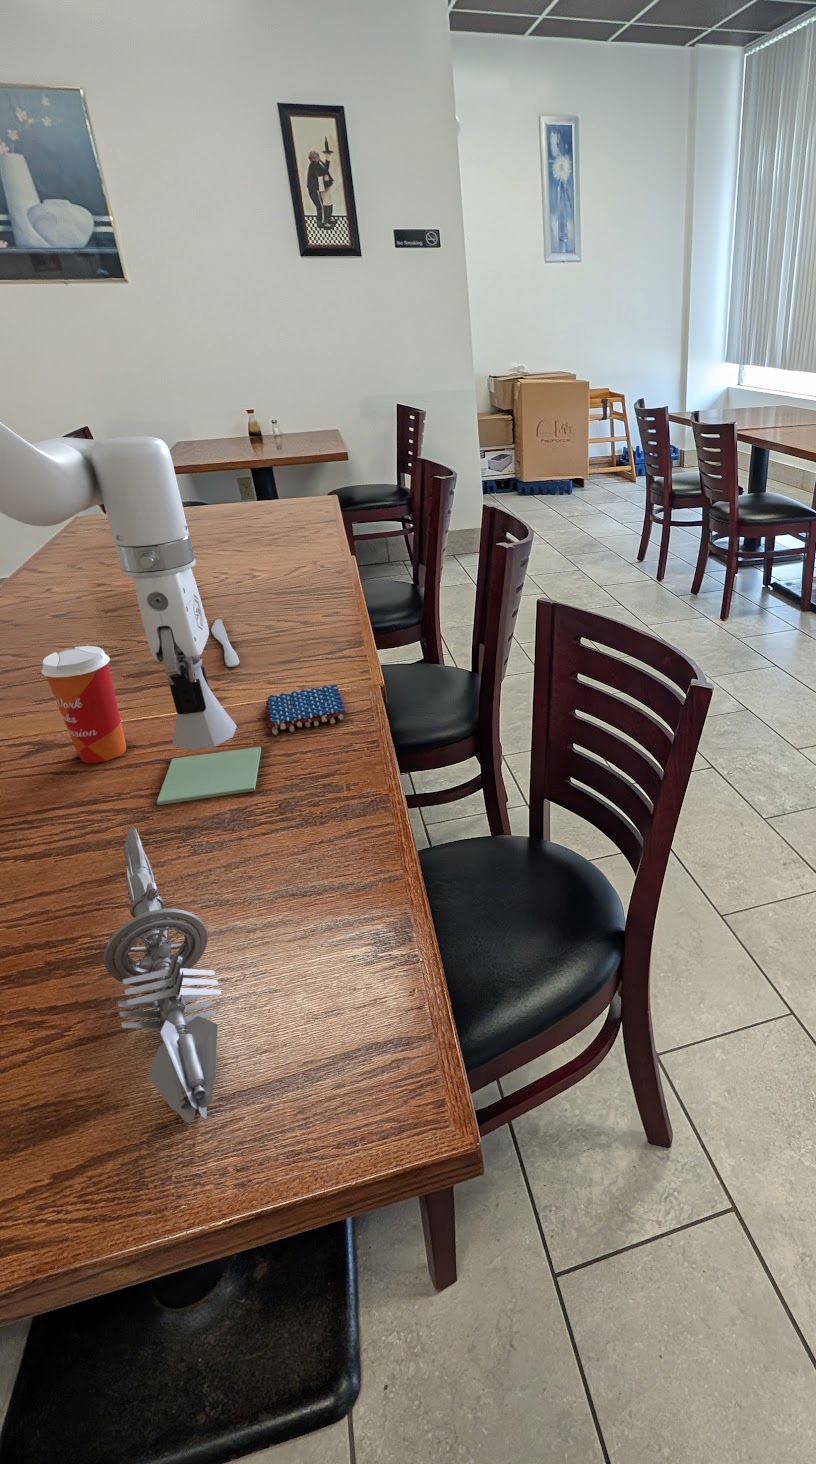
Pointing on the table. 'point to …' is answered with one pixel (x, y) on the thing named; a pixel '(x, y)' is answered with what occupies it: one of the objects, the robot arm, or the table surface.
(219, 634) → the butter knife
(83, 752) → the paper cup
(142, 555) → the robot arm
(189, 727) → the flask
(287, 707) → the woven mat
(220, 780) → the coaster
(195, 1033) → the spaceship
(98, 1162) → the table surface
